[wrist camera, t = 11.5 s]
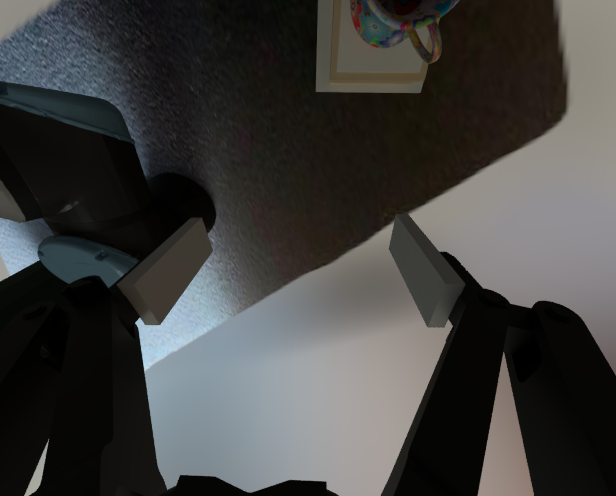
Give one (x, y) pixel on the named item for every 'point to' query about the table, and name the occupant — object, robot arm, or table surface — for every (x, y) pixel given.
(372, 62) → the cream stepped pedestal
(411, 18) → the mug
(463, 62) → the table surface
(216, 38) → the table surface
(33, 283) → the flower pot
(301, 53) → the table surface
